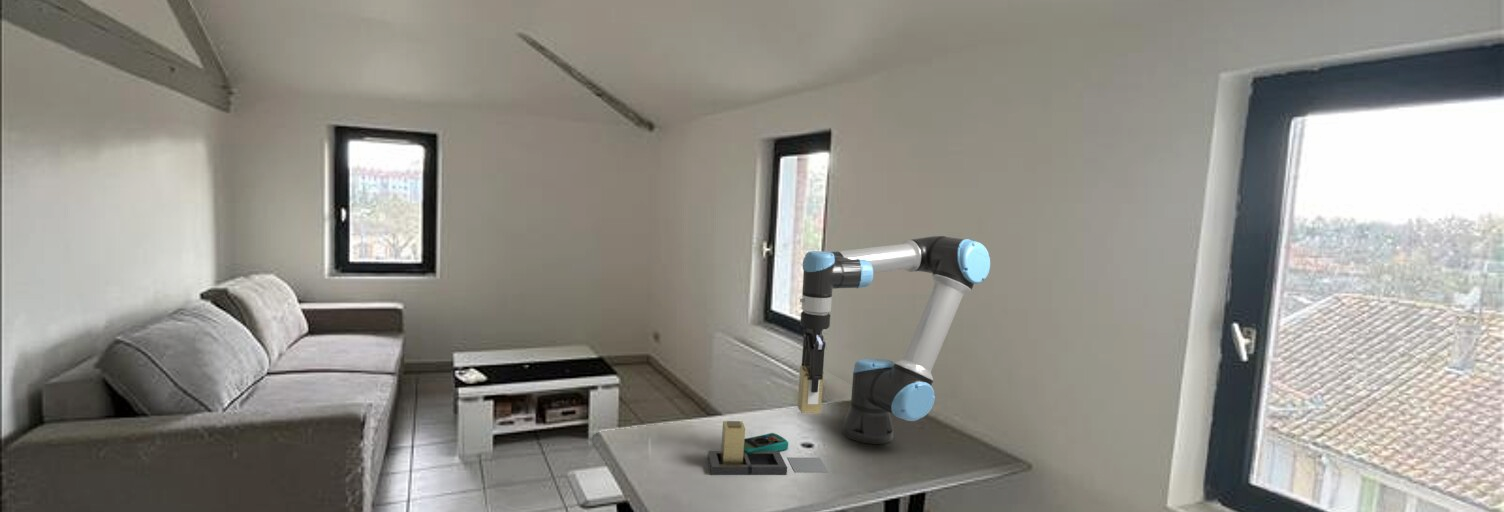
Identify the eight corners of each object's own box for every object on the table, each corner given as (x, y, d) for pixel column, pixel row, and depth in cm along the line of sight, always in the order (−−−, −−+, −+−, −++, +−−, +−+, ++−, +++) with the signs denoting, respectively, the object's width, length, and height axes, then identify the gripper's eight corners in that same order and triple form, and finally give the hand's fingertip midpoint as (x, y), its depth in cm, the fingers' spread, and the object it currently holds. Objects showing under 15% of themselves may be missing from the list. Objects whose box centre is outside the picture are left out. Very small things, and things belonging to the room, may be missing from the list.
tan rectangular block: (815, 406, 179) (818, 364, 178) (820, 413, 174) (823, 370, 173) (797, 406, 178) (800, 364, 177) (801, 413, 173) (804, 370, 172)
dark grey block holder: (778, 460, 181) (779, 451, 180) (786, 476, 171) (787, 467, 170) (707, 460, 177) (708, 450, 177) (711, 476, 167) (712, 467, 167)
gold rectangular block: (739, 462, 176) (742, 419, 175) (742, 470, 171) (745, 427, 170) (720, 462, 175) (723, 419, 174) (722, 470, 170) (725, 426, 169)
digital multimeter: (789, 450, 187) (790, 440, 186) (746, 460, 178) (747, 449, 177) (773, 440, 193) (774, 430, 192) (730, 450, 184) (731, 439, 183)
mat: (819, 459, 183) (819, 457, 183) (828, 474, 174) (828, 471, 174) (787, 459, 181) (787, 457, 181) (794, 474, 173) (794, 471, 173)
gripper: (793, 304, 181) (788, 388, 184) (809, 319, 164) (803, 412, 166) (820, 305, 183) (815, 388, 185) (839, 319, 165) (833, 412, 168)
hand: (809, 399), depth 176 cm, fingers closed on tan rectangular block, 5 cm apart
